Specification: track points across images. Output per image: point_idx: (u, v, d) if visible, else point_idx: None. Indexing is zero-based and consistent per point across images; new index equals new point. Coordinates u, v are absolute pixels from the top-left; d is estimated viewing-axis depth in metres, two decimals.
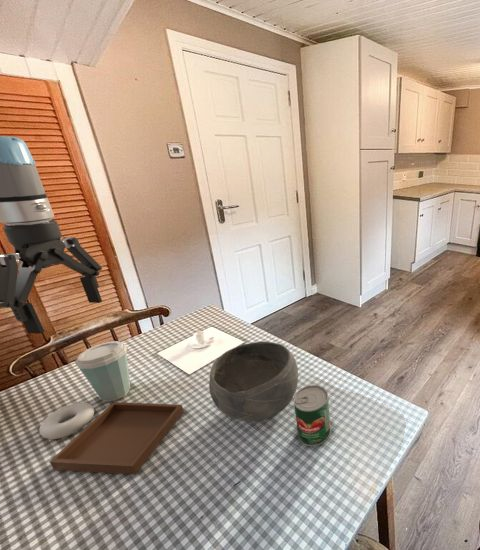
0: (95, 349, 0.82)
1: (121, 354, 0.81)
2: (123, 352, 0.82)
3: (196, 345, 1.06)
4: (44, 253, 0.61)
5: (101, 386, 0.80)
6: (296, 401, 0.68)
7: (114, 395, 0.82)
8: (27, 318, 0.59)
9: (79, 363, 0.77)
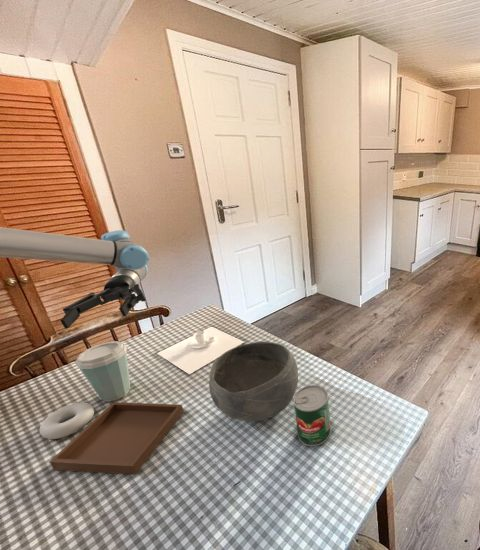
0: (95, 349, 0.82)
1: (121, 354, 0.81)
2: (123, 352, 0.82)
3: (196, 345, 1.06)
4: None
5: (101, 386, 0.80)
6: (296, 401, 0.68)
7: (114, 395, 0.82)
8: None
9: (79, 363, 0.77)
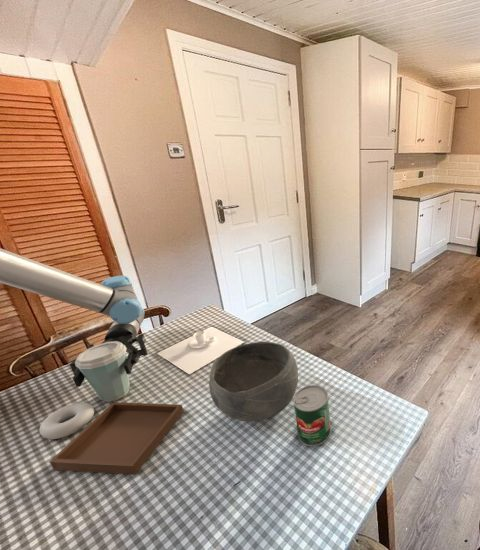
0: (94, 349, 0.82)
1: (120, 354, 0.81)
2: (122, 352, 0.82)
3: (196, 345, 1.06)
4: None
5: (100, 387, 0.80)
6: (296, 401, 0.68)
7: (114, 395, 0.82)
8: None
9: (78, 363, 0.77)
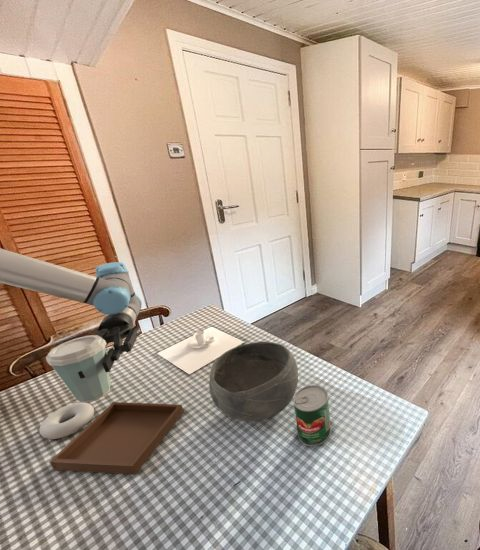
0: (71, 343, 0.73)
1: (97, 350, 0.72)
2: (100, 348, 0.73)
3: (196, 345, 1.06)
4: None
5: (74, 386, 0.71)
6: (296, 401, 0.68)
7: (91, 396, 0.73)
8: None
9: (49, 359, 0.68)
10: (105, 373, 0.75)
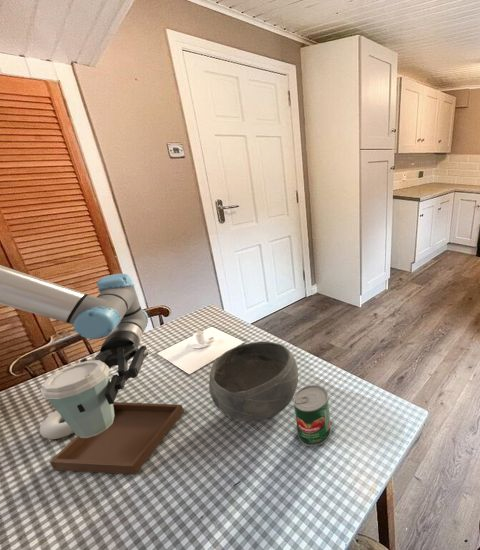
0: (69, 371, 0.64)
1: (100, 379, 0.63)
2: (103, 376, 0.63)
3: (196, 345, 1.06)
4: None
5: (73, 421, 0.62)
6: (296, 401, 0.68)
7: (92, 430, 0.64)
8: None
9: (44, 391, 0.59)
10: (108, 404, 0.66)
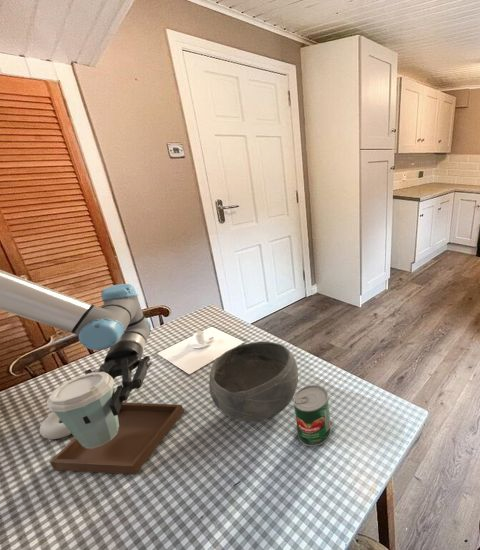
0: (75, 383, 0.65)
1: (105, 391, 0.64)
2: (108, 388, 0.65)
3: (196, 345, 1.06)
4: None
5: (78, 432, 0.63)
6: (296, 401, 0.68)
7: (97, 441, 0.65)
8: None
9: (50, 404, 0.60)
10: (113, 415, 0.67)
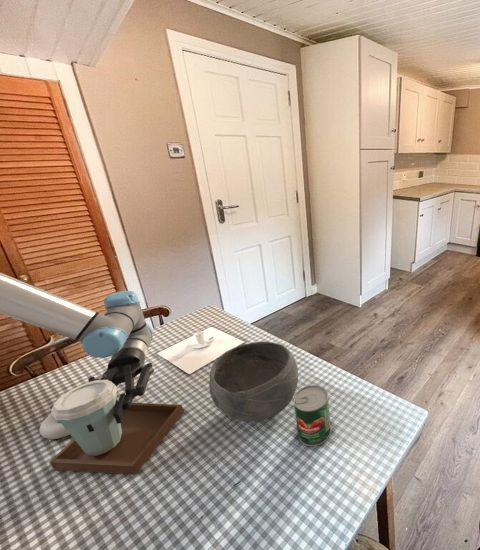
0: (78, 391, 0.66)
1: (108, 399, 0.65)
2: (111, 396, 0.65)
3: (196, 345, 1.06)
4: None
5: (82, 440, 0.64)
6: (296, 401, 0.68)
7: (100, 449, 0.66)
8: None
9: (55, 412, 0.61)
10: (116, 422, 0.68)
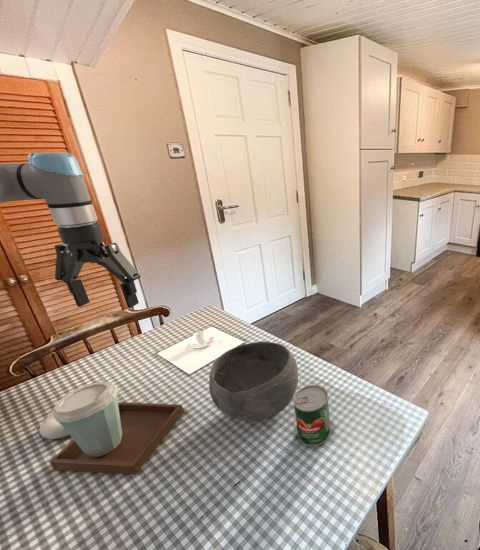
0: (79, 392, 0.66)
1: (108, 401, 0.65)
2: (111, 398, 0.66)
3: (196, 345, 1.06)
4: None
5: (82, 441, 0.64)
6: (296, 401, 0.68)
7: (100, 450, 0.66)
8: None
9: (55, 414, 0.61)
10: (116, 424, 0.68)
